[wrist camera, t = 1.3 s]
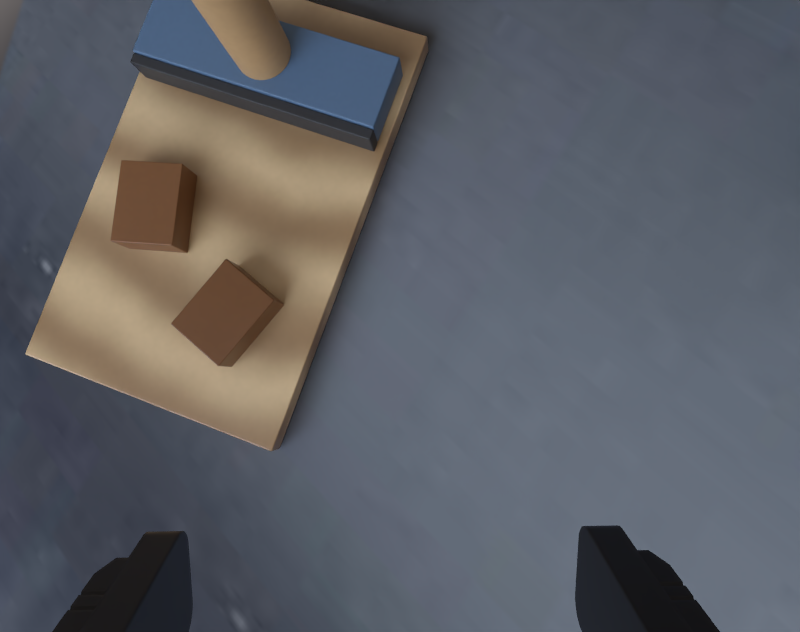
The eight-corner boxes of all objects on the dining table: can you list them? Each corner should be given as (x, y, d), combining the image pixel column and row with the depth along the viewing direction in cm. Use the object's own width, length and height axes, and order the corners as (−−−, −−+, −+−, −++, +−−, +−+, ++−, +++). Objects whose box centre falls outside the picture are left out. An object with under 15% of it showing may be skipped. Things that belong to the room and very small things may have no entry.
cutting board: (193, -22, 39) (183, -38, 38) (429, 49, 37) (427, 35, 36) (41, 355, 38) (24, 354, 36) (279, 449, 36) (271, 451, 34)
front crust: (238, 264, 36) (225, 258, 34) (285, 304, 35) (274, 299, 33) (186, 327, 35) (169, 323, 33) (231, 367, 35) (218, 366, 33)
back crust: (139, 171, 37) (120, 159, 35) (197, 175, 36) (182, 163, 34) (129, 248, 36) (109, 241, 34) (187, 253, 36) (172, 245, 34)
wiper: (175, 4, 38) (42, -173, 26) (403, 74, 36) (374, -80, 24) (145, 77, 37) (-3, -67, 25) (374, 152, 35) (330, 35, 24)
